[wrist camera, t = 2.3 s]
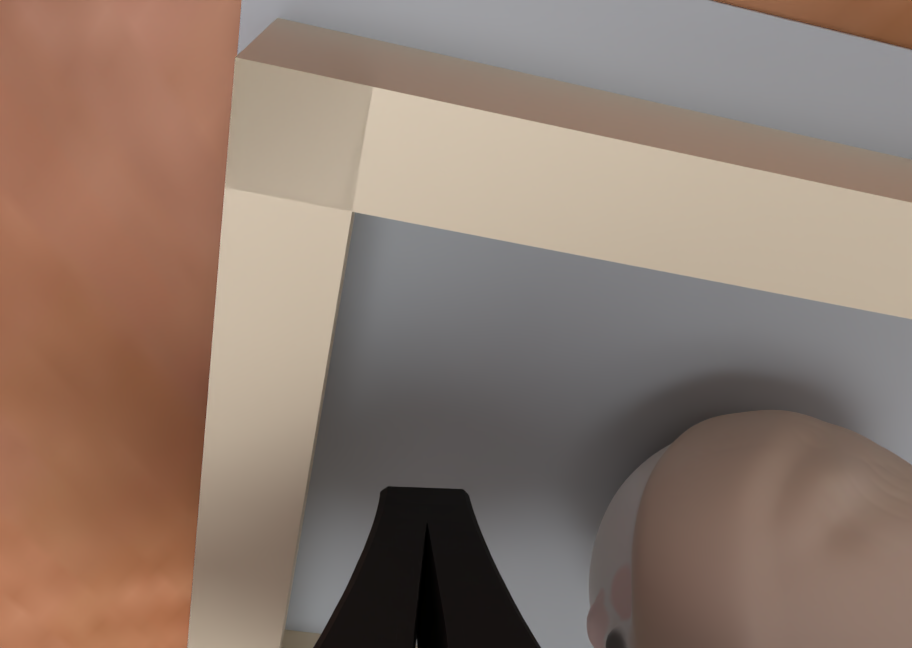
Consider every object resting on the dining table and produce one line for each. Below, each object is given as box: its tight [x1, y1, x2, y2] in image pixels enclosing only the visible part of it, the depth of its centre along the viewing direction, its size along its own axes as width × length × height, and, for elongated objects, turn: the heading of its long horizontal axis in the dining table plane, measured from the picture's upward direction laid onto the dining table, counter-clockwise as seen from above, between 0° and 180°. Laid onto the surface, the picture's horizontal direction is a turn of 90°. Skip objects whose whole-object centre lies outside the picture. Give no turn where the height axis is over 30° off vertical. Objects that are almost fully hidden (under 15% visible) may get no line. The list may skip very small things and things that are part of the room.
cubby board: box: [187, 0, 912, 648], centre depth 15 cm, size 22×17×3 cm
